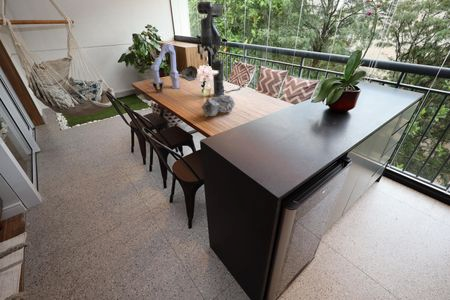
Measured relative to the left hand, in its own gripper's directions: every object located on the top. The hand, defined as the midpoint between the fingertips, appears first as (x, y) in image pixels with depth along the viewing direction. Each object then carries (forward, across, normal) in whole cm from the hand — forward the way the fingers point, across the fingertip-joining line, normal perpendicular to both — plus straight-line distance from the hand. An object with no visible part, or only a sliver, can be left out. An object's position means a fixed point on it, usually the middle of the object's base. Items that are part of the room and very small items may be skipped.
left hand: (158, 90), depth 213 cm
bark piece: (+1, +15, +60) cm, 62 cm away
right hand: (-38, +61, -37) cm, 81 cm away
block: (+1, 0, 0) cm, 1 cm away
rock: (+1, +71, -48) cm, 86 cm away
